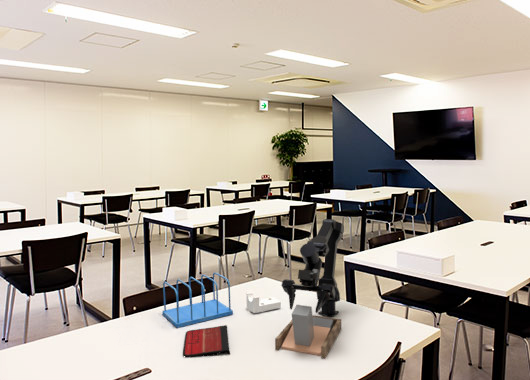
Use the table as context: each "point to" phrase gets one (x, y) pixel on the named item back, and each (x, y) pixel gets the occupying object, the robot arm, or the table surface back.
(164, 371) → the table surface
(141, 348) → the table surface
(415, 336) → the table surface
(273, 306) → the bracket
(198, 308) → the file sorter
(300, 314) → the stone block
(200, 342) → the binder
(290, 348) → the flap
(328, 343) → the flap frame
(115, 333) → the table surface
